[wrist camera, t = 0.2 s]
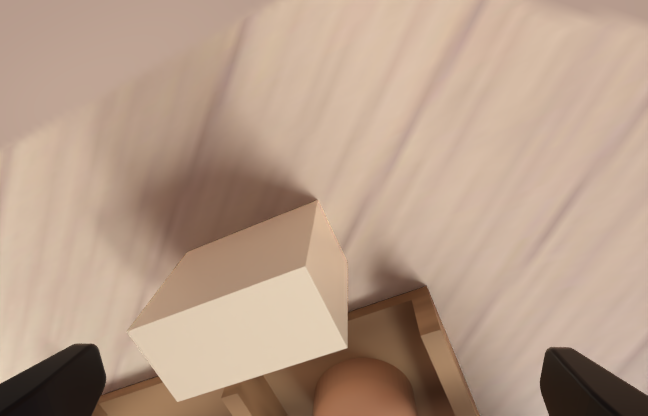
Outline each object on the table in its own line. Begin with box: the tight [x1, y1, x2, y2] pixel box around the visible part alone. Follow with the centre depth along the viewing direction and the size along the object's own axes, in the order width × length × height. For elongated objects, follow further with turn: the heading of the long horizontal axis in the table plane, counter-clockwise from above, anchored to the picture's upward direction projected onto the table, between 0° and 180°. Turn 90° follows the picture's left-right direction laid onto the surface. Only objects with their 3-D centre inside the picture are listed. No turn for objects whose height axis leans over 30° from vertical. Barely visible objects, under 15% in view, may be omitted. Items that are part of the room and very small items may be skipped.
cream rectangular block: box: [127, 200, 348, 402], centre depth 20 cm, size 4×8×7 cm, turn 114°
